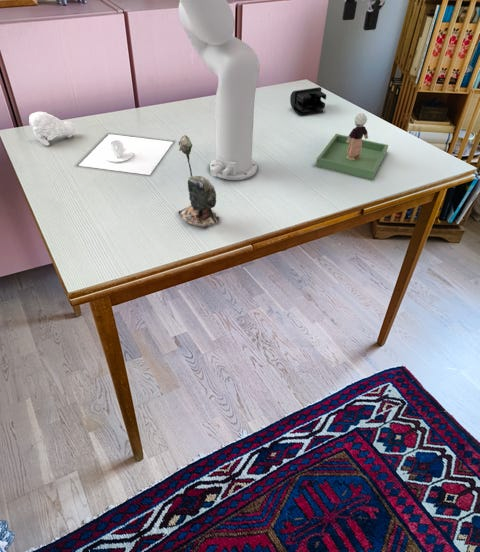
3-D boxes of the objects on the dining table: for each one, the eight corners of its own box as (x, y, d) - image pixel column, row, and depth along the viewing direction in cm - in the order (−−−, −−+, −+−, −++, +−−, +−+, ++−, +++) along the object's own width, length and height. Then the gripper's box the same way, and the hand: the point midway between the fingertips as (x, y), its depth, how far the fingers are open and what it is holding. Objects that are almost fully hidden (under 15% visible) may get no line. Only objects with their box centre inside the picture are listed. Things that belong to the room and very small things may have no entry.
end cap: (314, 104, 160) (316, 84, 155) (325, 112, 155) (328, 91, 151) (288, 108, 157) (290, 88, 152) (299, 116, 152) (301, 95, 147)
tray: (372, 179, 122) (374, 171, 120) (315, 166, 127) (317, 158, 125) (386, 152, 134) (388, 145, 132) (334, 141, 139) (335, 133, 137)
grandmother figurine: (354, 151, 133) (363, 107, 125) (365, 156, 131) (375, 112, 123) (338, 159, 129) (346, 115, 121) (350, 164, 127) (359, 120, 119)
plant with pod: (194, 238, 101) (190, 153, 87) (175, 211, 108) (169, 130, 95) (227, 228, 104) (228, 145, 90) (207, 203, 111) (205, 123, 98)
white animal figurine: (25, 109, 128) (69, 105, 134) (30, 139, 134) (72, 134, 139) (30, 117, 124) (75, 113, 130) (36, 147, 130) (79, 142, 135)
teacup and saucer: (112, 147, 132) (109, 133, 129) (138, 150, 131) (136, 136, 128) (98, 161, 125) (96, 147, 123) (126, 165, 124) (124, 150, 121)
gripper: (338, -66, 107) (327, 17, 118) (380, -56, 95) (364, 35, 107) (366, -66, 109) (353, 15, 121) (411, -57, 97) (391, 32, 109)
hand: (358, 24), depth 114 cm, fingers open, 9 cm apart
